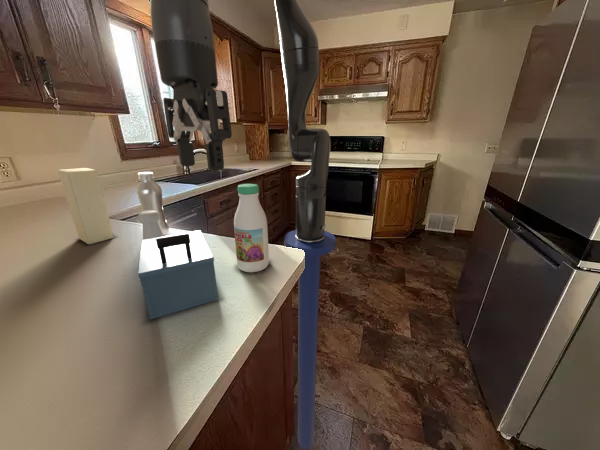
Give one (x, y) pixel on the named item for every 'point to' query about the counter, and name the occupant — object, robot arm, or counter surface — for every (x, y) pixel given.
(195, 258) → the freezer lid
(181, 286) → the box
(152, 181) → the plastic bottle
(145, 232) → the salt shaker
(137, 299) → the counter surface
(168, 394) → the counter surface
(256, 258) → the milk bottle
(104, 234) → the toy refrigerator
